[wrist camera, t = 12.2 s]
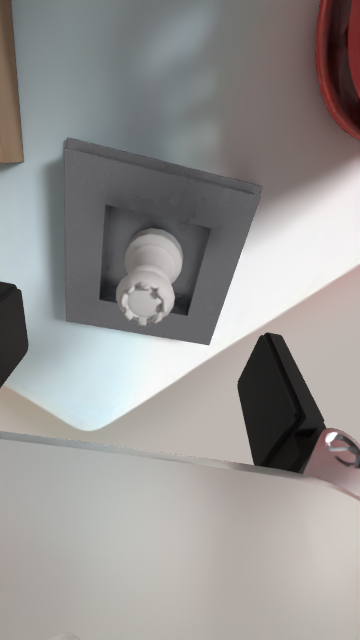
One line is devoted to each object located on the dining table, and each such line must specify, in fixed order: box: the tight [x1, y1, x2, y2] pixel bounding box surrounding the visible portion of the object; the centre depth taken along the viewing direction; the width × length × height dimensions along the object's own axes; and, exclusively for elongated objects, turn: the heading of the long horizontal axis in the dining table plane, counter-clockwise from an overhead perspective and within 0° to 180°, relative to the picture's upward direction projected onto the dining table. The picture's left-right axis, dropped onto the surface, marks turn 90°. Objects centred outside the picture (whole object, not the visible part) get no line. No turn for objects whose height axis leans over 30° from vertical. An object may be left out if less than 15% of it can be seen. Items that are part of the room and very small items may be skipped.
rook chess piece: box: [116, 228, 183, 326], centre depth 17 cm, size 4×4×8 cm
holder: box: [64, 138, 262, 345], centre depth 20 cm, size 13×13×2 cm
